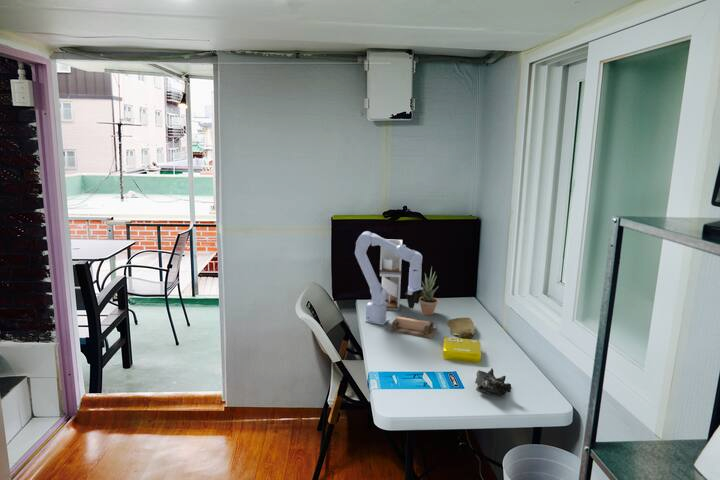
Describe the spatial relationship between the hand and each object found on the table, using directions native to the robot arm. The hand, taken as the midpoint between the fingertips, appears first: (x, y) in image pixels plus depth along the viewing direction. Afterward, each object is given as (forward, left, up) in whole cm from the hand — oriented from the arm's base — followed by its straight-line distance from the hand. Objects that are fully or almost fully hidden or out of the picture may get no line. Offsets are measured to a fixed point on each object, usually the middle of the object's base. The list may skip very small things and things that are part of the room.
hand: (413, 305), depth 235 cm
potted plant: (+2, +19, -10) cm, 21 cm away
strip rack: (+3, -8, -9) cm, 13 cm away
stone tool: (+23, +2, -10) cm, 25 cm away
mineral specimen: (+46, -49, -10) cm, 68 cm away
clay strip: (+2, -8, -8) cm, 12 cm away
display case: (-19, +19, -10) cm, 29 cm away
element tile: (+29, -23, -10) cm, 38 cm away
